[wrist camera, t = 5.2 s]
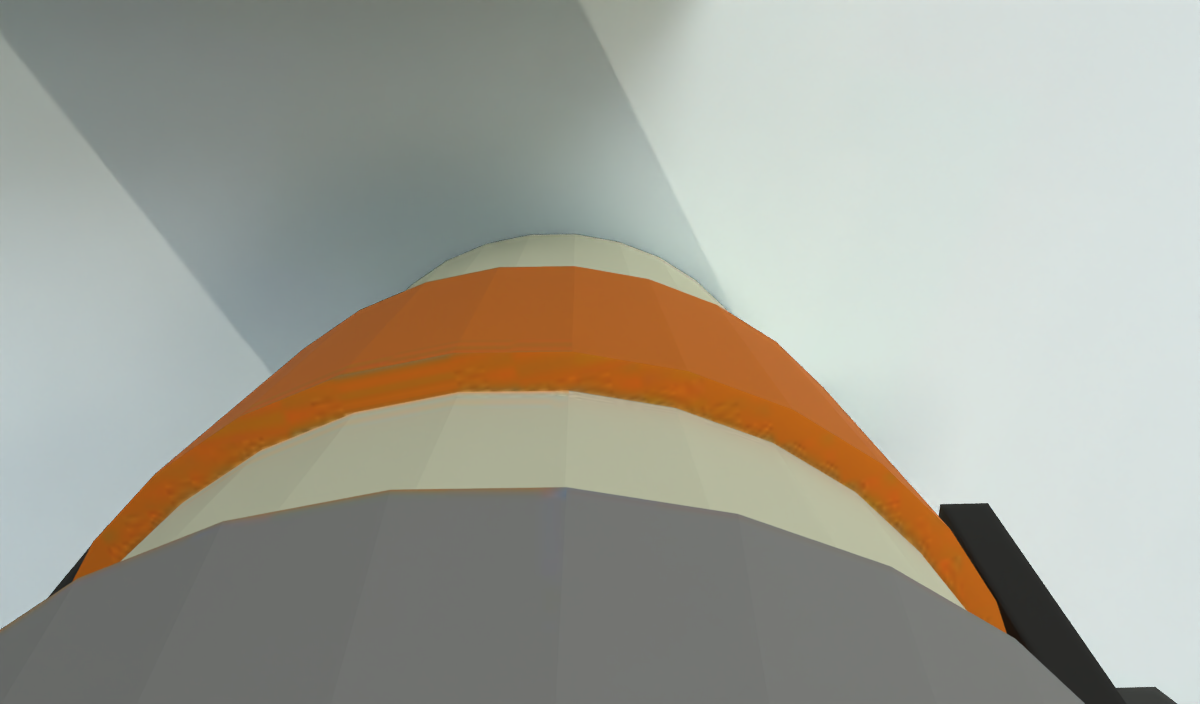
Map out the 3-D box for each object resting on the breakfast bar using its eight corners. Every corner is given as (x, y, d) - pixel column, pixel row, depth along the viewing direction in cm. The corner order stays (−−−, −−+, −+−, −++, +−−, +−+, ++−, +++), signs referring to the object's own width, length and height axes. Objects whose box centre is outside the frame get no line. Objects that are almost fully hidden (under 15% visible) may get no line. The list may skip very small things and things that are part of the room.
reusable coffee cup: (939, 529, 21) (1560, 1591, 8) (465, 735, 24) (294, 1828, 10) (690, 13, 17) (1104, 340, 3) (137, 328, 19) (-979, 1292, 6)
